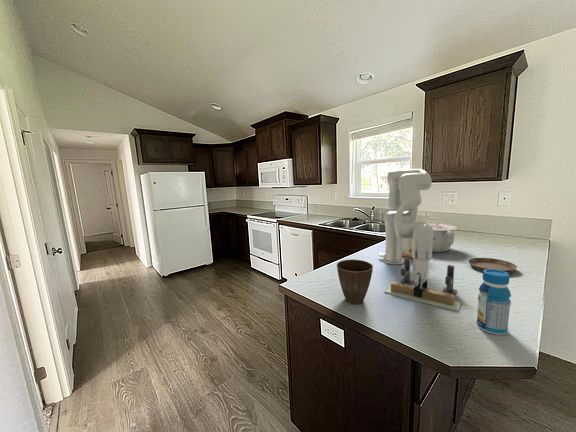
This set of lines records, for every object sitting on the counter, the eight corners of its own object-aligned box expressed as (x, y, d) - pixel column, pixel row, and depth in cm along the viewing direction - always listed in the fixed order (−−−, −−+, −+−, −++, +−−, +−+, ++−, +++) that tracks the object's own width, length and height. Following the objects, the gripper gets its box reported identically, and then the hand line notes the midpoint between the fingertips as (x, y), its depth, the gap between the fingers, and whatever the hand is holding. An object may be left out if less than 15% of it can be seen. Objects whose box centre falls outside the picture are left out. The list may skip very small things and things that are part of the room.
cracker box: (420, 257, 160) (421, 225, 157) (416, 259, 156) (417, 226, 153) (399, 252, 171) (400, 223, 168) (394, 254, 167) (395, 224, 164)
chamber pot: (415, 243, 194) (415, 217, 191) (457, 247, 178) (459, 218, 175) (408, 252, 172) (409, 222, 169) (455, 257, 155) (457, 225, 153)
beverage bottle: (498, 338, 79) (504, 279, 76) (470, 325, 86) (474, 270, 83) (513, 331, 82) (519, 274, 79) (485, 319, 90) (489, 266, 87)
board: (384, 292, 113) (384, 291, 113) (389, 287, 119) (389, 286, 118) (458, 311, 95) (458, 309, 95) (460, 303, 101) (460, 302, 101)
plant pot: (378, 298, 108) (378, 263, 106) (363, 313, 97) (363, 274, 95) (347, 289, 118) (347, 257, 116) (330, 301, 107) (330, 266, 105)
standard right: (440, 295, 108) (441, 269, 106) (443, 288, 115) (445, 263, 113) (454, 298, 105) (455, 271, 103) (456, 291, 112) (458, 265, 110)
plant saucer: (472, 273, 131) (473, 267, 131) (464, 261, 150) (464, 256, 149) (523, 278, 122) (524, 271, 122) (508, 264, 141) (508, 259, 140)
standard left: (397, 285, 120) (397, 262, 118) (402, 279, 126) (403, 257, 125) (408, 288, 116) (409, 264, 115) (413, 281, 123) (414, 258, 121)
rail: (390, 290, 113) (390, 283, 113) (393, 288, 116) (393, 281, 116) (452, 306, 98) (453, 297, 98) (453, 302, 101) (454, 294, 100)
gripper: (417, 248, 113) (415, 283, 116) (406, 258, 100) (405, 297, 102) (435, 250, 108) (434, 287, 111) (427, 261, 95) (425, 303, 98)
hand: (420, 292), depth 107 cm, fingers open, 9 cm apart
